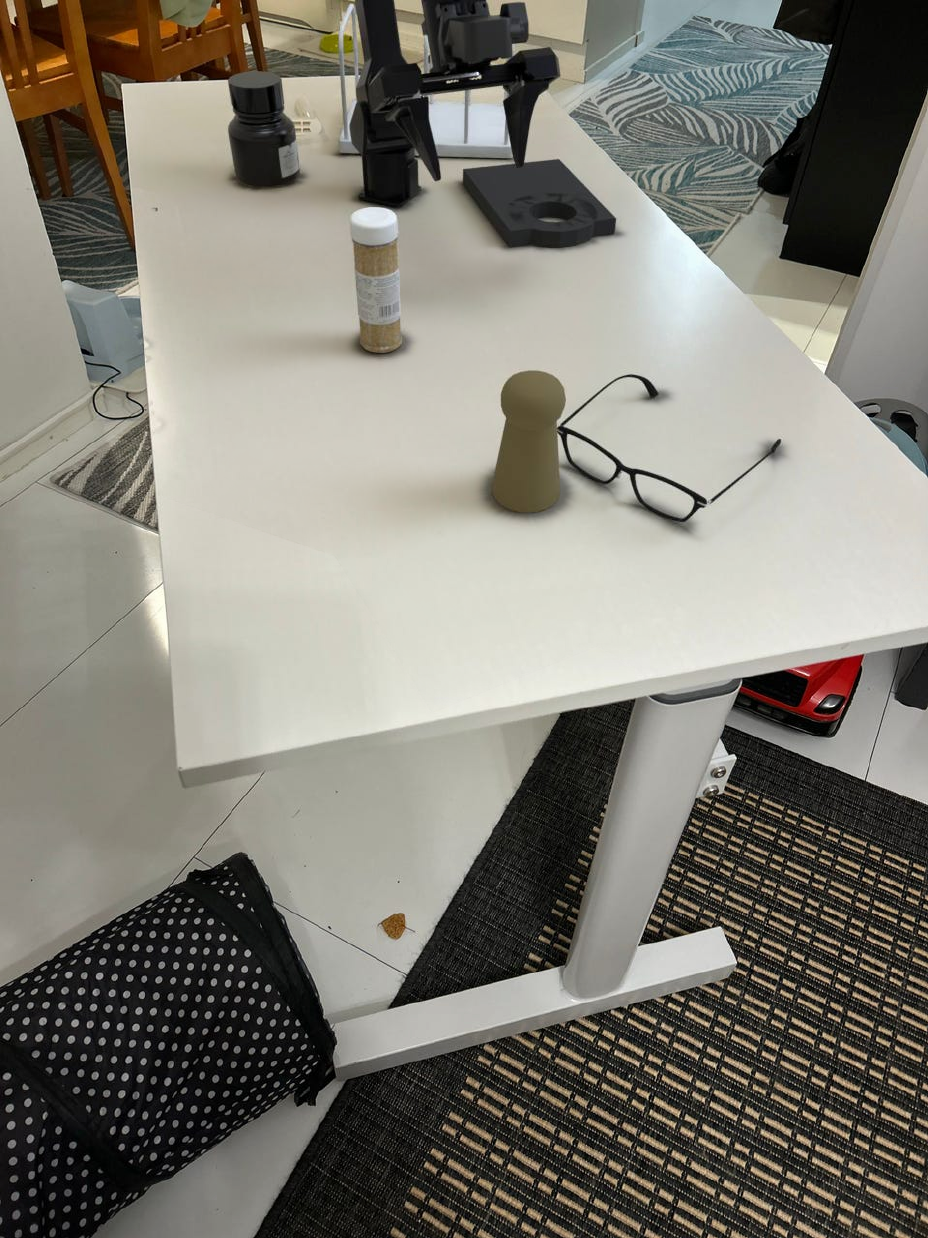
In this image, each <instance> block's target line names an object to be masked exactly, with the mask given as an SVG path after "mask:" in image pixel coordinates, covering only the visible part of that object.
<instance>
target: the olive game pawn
mask: <svg viewBox="0 0 928 1238" xmlns="http://www.w3.org/2000/svg"><path fill="white" fill-rule="evenodd" d="M566 402H567V397H566V391H565V387H564V385H563V384H562V382H561V381H560V380H559V378H557V377H556V376H555V375H553V374H552V373H549V372H547V371H541V370H534V369H533V370H532V369H530V370H529V369H528V370H524V371H523V370H522V371H519V372H517V373H515V374H512V375H511V376H510V377H508V379H507V380H506V381H505V382H504V384H503V387H502V388H501V391H500V407H501V411H502V414H503V415H504V418H505V421H504V426H503V429H502V434H501V438H500V439H501V440H500V445H499V448H498V454H497V459H496V463H495V468H494V474H493V478H492V483H491V495H492V497H493V498H494V500H495V502H497V503H498V504H499V505H500V506H501V507H503V508H505V509H508V510H509V511H512V512H517V513H522V514H523V513H525V514H527V513H528V514H533V513H538V512H542V511H546V510H548V509H550V508H552V507H553V506H554V505H555V504H556V503H557V502H558V501H559V498H560V497H561V481H560V478H561V477H560V459H559V457H560V456H559V437H558V436H559V434H558V432H557V427H558V420H559V419H560V418H561V416H562V415H563V412H564V410H565V407H566Z"/></svg>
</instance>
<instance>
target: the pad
mask: <svg viewBox="0 0 928 1238" xmlns="http://www.w3.org/2000/svg"><path fill="white" fill-rule="evenodd" d="M462 185H463V186H464V188H465V189H466V190H467V192H468V193H469V194H470V196H471V197H472V199H473V200H474V201H475V202H476V204H477V205H478V207H479V209H481V210H482V213H484V215H485V216H486V217H487V219H488V220H489V221H490V223H491V224H492V225H493V227H494V228H495V229H496V231H497V232H498V233H499V235H500V236H501V238H502V239H503V240H504V242H505V243H506V245H507V246H508V248H515V247H523V246H531V245H534V246H538V247H544V248H565V247H572V246H574V247H575V246H578V245H580V244H583V243H586V242H589V241H590V240H591V239H592V238H597V237H603V236H611V235H615V231H616V226H617V225H616V224H617V217H616V216H614V214H613V213H612V212H611V211H610V210H609V209H608V208H607V207H606V206H605V205H604V204H603V203H602V202H601V201H600V199H598V198H597V197H596V196H595V195H594V194H593V193H592V191H591V190H590V189H589V188H587V186H586V185H585V184H584V183H583V182H582V181H581V180H580V179H579V178H578V177H577V176H576V175H575V174H574V173H573V172H572V171H571V170H570V169H569V167H568V166H567V165H565V163H563V161H562V160H561V159H559V158H555V159H554V158H553V159H546V160H536V161H526V162H525V161H524V166H523V167H522V168H519V169H517V168H516V165H515V163H507V164H497V165H487V166H479V167H470V168H468V167H467V168H463V169H462ZM539 218H558V219H561V220H563V221H546V220H543V219H542V220H541V219H539Z"/></svg>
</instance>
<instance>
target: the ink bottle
mask: <svg viewBox="0 0 928 1238" xmlns="http://www.w3.org/2000/svg"><path fill="white" fill-rule="evenodd" d="M227 82H228V83H227V85H228V90H229V98H230V103H231V106H232V113H234V116H233V118H232V119H231V120H230V122H229V123H228V127H227V133H228V134H227V135H228V139H229V145H230V152H231V158H232V164H233V170H234V176H235V178H236V179H237V181H238V182H240V183H241V184H242V185H245V186H247V187H248V186H249V187H254V188H273V187H280V186H284V185H285V186H286V185H288V184H291V183H292V182H295V180H297V179H298V177H300V172H301V169H300V161H299V151H298V150H299V149H298V141H297V134H296V133H297V132H296V126H295V124H294V122H293V120H292V119H291V118H290V117H289V116H288V115H287V114H286V113H284V111H285V96H284V89H283V80H282V78H281V76H280V75H279V74H277V73H275V72H269V71H258V70H257V71H256V70H253V71H244V72H240V73H236V74H234V75H231V76H230V77H229V78H228V80H227Z"/></svg>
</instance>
